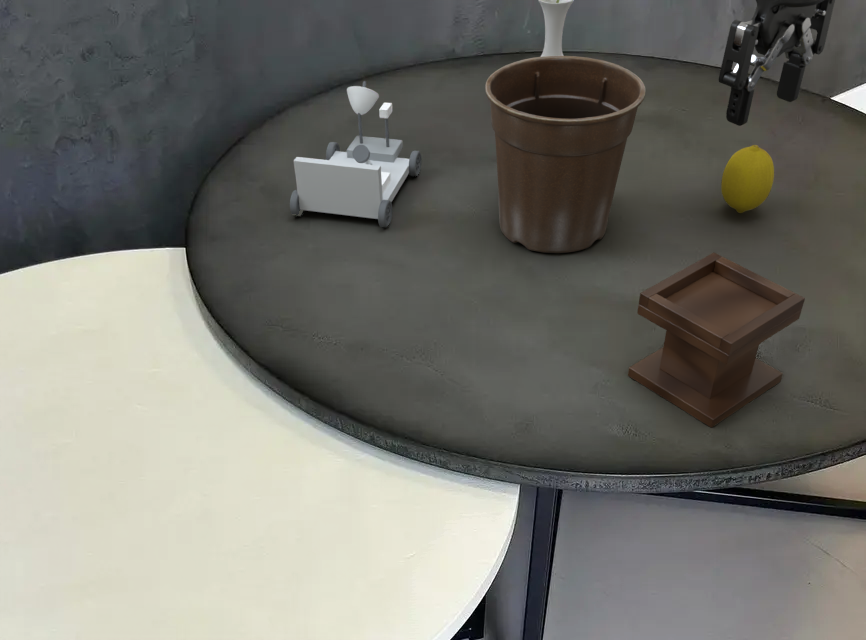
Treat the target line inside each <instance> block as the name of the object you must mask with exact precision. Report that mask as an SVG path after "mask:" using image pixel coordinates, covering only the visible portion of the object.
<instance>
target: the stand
mask: <svg viewBox="0 0 866 640" xmlns="http://www.w3.org/2000/svg"><path fill="white" fill-rule="evenodd" d="M805 301H806V297H804V296H802V295H800V294H798V293H796V292H794V291H792V290H790V289H788V288H786V287H784V286H782V285H780V284H778V283H776V282H774V281H772V280H770V279H768V278H766V277H764V276H762V275H761V274H758V273H757V272H755V271H752V270H750V269H748V268H746V267H744V266H742V265H740V264H738V263H736V262H734V261H732V260H730V259H728V258H726V257H724V256H722V255H720V254H719V253H716V252H711V253H710V254H707V255H706V256H704V257H703V258H701V259H699V260H697V261H695V262H694V263H691V264H690V265H688V266H686V267H684V268H683V269H681V270H679V271H677V272H676V273H674V274H672V275H670V276H668V277H666V278H665V279H663V280H661V281H660V282H657V283H655V284H654V285H652V286H650V287H649V288H647V289H645V290H643V291H640V293H639V299H638V306H637V313H636V314H638V315H639V316H640V317H643V318H644V319H646V320H648V321H649V322H651V323H652V324H655V325H656V326H658V327H660V328H662V329H663V330H665V336H664V340H663V341H664V342H663V346H662V347H661V348H659V349H658V350H656V351H654V352H653V353H651V354H649V355H647V356H645V357H644V358H643V359H640V360H639V361H637V362H636V363H634V364H632V365H631V366H629V367H628V371H627V376H628V377H629V378H631V379H633V380H634V381H636V382H637V383H639V384H640V385H642V386H643V387H644V388H646V389H648V390H650V391H652V392H653V393H655V394H656V395H658V396H659V397H661V398H663V399H664V400H666V401H668V402H669V403H671V404H672V405H674V406H676V407H677V408H679V409H680V410H682V411H684V412H685V413H687V414H688V415H690V416H692V417H693V418H694V419H696V420H698V421H700V422H701V423H703V424H704V425H705V426H708V427H709V428H713V427H715V426H717V424H720V423H721V422H722V421H724V420H725V419H727V418H728V417H730V416H731V415H733V414H734V413H736V412H738V411H739V410H740V409H742V408H744V407H745V406H746V405H748V404H749V403H751V402H753V401H754V400H755V399H757V398H759V397H760V396H761V395H763V394H764V393H766V392H767V391H769V390H770V389H772V388H773V387H776V385H778V384H779V383H781V382H782V379H783V376H784V373H783V372H782V371H780V370H778V369H776V368H774V367H773V366H771V365H769V364H768V363H766V362H764V361H762V360H760V359H759V358H757V355H758V350H759V348H760V344H762V343H764V342H765V341H766V340H768V339H769V338H771V337H772V336H774V335H776V334H778V333H780V332H781V331H783V330H784V329H786V328H787V327H789V326H790V325H792V324H794V323H795V322H797V321H798V320H800V317H801V314H802V310H803V307H804V304H805Z"/></svg>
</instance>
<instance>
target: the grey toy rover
mask: <svg viewBox="0 0 866 640" xmlns="http://www.w3.org/2000/svg"><path fill="white" fill-rule="evenodd" d="M346 94H347V97H348V101H349V104H350V107H351V109H352V110H353V112H354V113H355V114H356V115H357V122H358V123H357V124H358V135H356V136H355V137H354V139H353V140H352V142H351V143H350V144H349V146H348V147H347V149H346V151H341V148H340V144H339V143H338V142H336V141H330V142H329V143H328V145H327V147H326V151H325V159H321V158H312V157H304V156H303V157H302V156H296V157H295V158H294V159H293V167H294V175H295V176H294V177H295V183H296V184H295V185H296V189H294V190H293V191H292V192H291V195H290V198H289V199H290V200H289V210H290V214H291V215H292V214H296V215H298V214H299V211H300V210H304V211H308V212H317V213H325V214H333V215H340V216H341V215H342V216H350V217H358V218H366V219H375V220H377V222H378V225H379V227H380V228H388V227H389V226H390V225H389V223H390V224H391V222H392V219H393V218H392V217H393V204H392V202H393V200H394V199H395V197H396V195H397V194H398V192H399V190H400V189H401V188H402V186H403V184H404V182H405V180H406V179H407V177H408V175H410V176H411V177H414V176H415V178H416V176H417V177H419V175H420V173H421V170H422V161H423V160H422V159H423V158H422V152H421V151H420V150H412V151H411V153H410V155H409V158H405V157H398V156H400V154H401V152H402V150H403V149H404V142H403V139H396V138H395V139H394V138H390V129H389V117H390V116H391V114H393V102H390V101H389V102H383V103H382V104H381V106H380V108H378V113H379V119H384V133H385V138H384V137H377V136H376V137H374V136H364V135H363V124H362V123H363V122H362V116H364V115H365V114H367V113H368V112H369V111H371V109H373V107H374V105H375V104H376V103H377V101H378V99H380V94H379V93H378V92H377V91H375V90H373V89H372V88H368V87H367V81H366V80H363V81H362V86H360V85H353V86H352V85H351V86H348V87H347V88H346ZM419 172H420V173H419ZM418 174H419V175H418ZM303 215H304V213H303V214H302V216H303ZM388 225H389V226H388ZM387 226H388V227H387Z"/></svg>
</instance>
